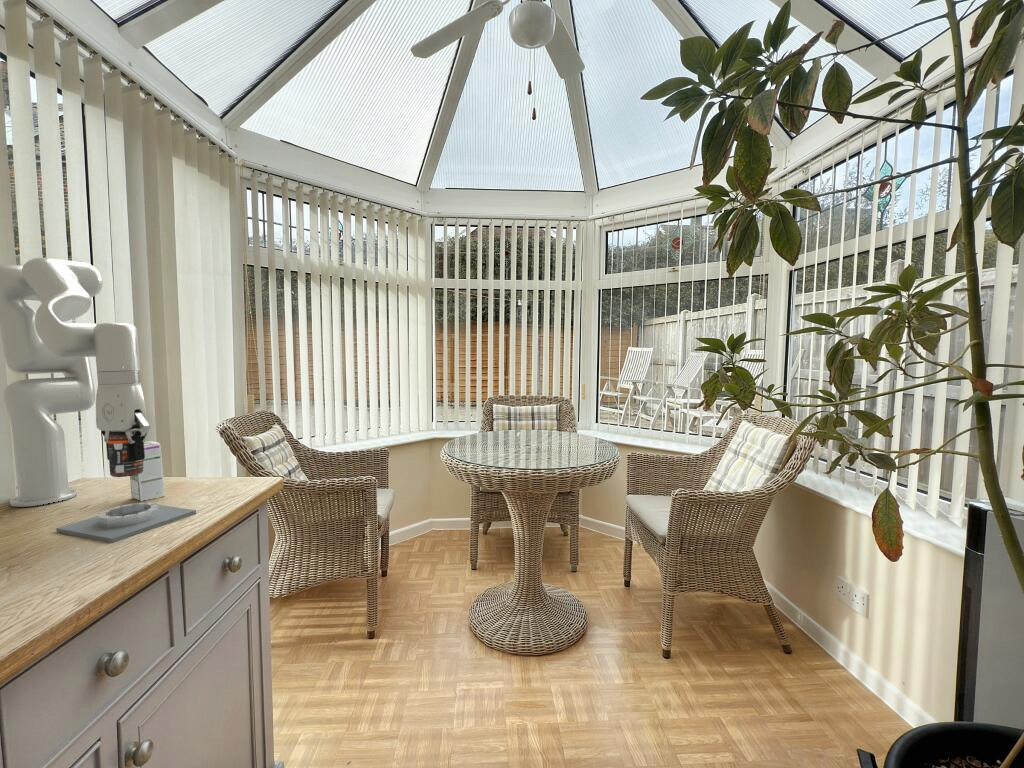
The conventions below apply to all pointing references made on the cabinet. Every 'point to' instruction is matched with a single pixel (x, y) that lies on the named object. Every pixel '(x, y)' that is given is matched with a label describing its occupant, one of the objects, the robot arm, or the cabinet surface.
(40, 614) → the cabinet surface
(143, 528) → the rubber mat
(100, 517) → the ring collar
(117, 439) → the supplement bottle
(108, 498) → the cabinet surface
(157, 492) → the syrup box
